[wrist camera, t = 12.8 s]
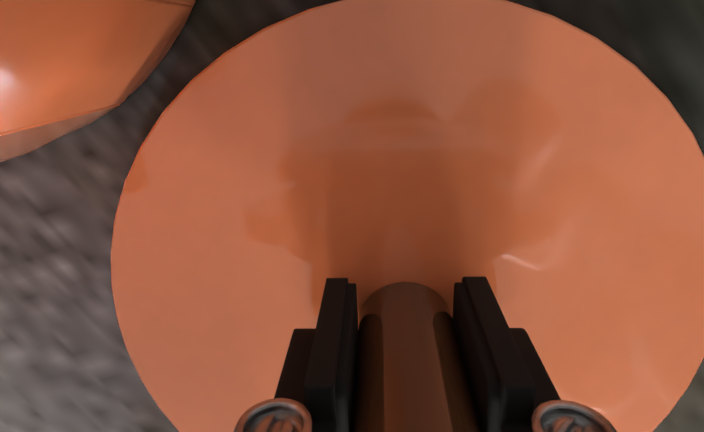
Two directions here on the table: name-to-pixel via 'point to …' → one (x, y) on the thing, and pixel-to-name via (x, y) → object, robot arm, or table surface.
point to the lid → (414, 215)
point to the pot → (76, 62)
